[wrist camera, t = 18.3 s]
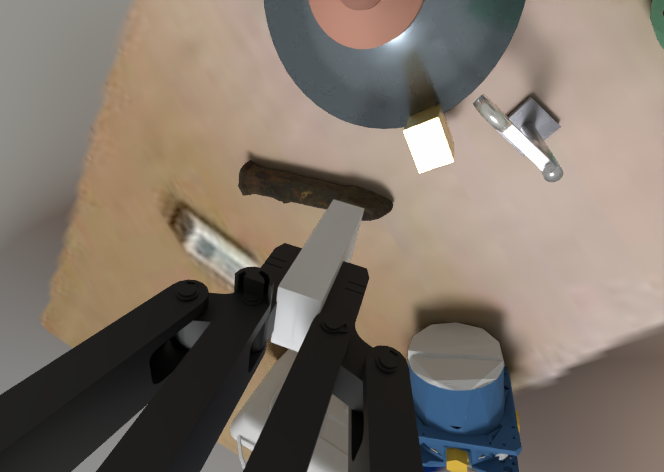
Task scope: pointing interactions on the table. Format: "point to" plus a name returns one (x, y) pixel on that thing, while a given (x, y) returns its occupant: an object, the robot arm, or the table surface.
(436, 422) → the valve
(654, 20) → the mug
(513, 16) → the turntable
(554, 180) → the indicator stand
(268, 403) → the radio
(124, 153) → the table surface
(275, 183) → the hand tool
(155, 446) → the robot arm
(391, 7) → the cover
